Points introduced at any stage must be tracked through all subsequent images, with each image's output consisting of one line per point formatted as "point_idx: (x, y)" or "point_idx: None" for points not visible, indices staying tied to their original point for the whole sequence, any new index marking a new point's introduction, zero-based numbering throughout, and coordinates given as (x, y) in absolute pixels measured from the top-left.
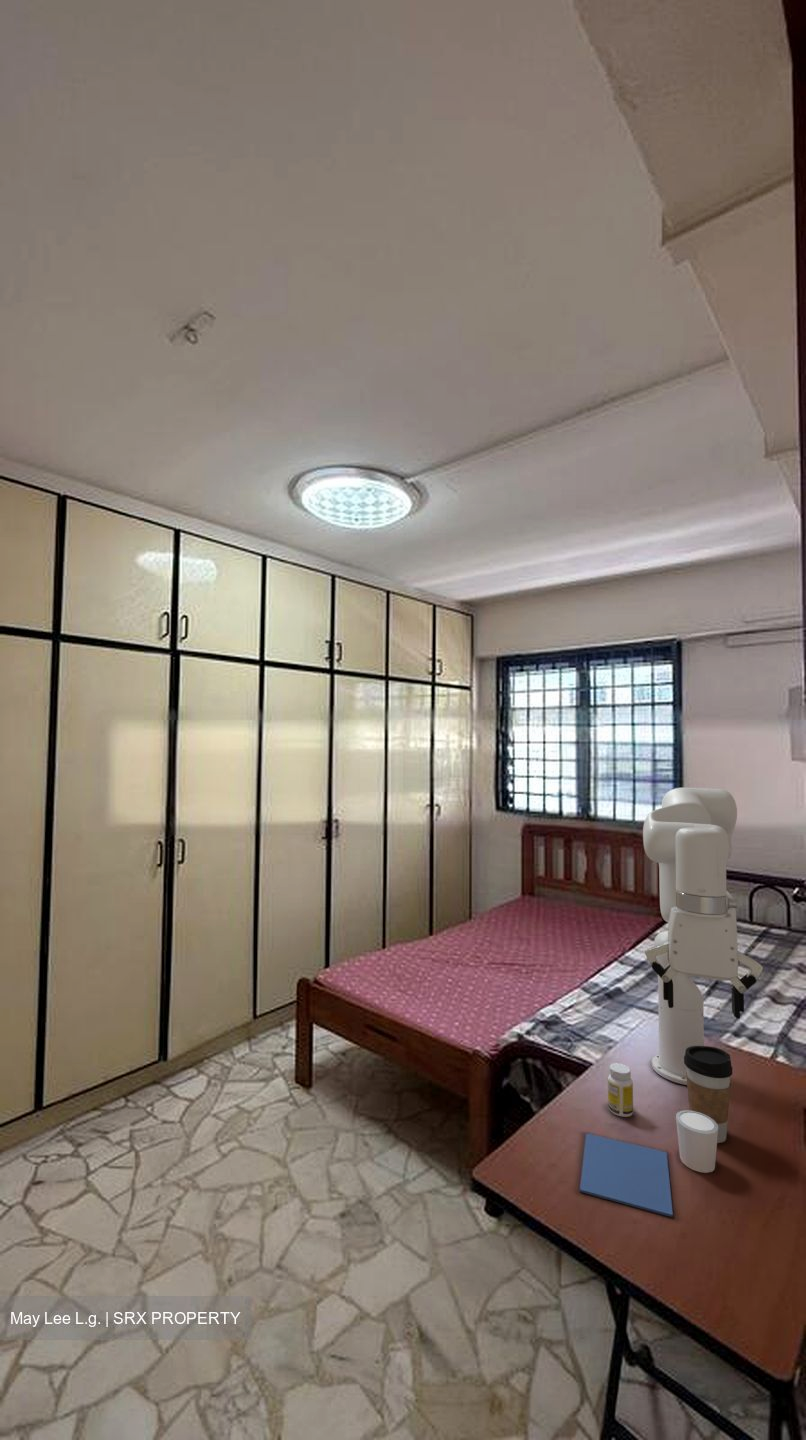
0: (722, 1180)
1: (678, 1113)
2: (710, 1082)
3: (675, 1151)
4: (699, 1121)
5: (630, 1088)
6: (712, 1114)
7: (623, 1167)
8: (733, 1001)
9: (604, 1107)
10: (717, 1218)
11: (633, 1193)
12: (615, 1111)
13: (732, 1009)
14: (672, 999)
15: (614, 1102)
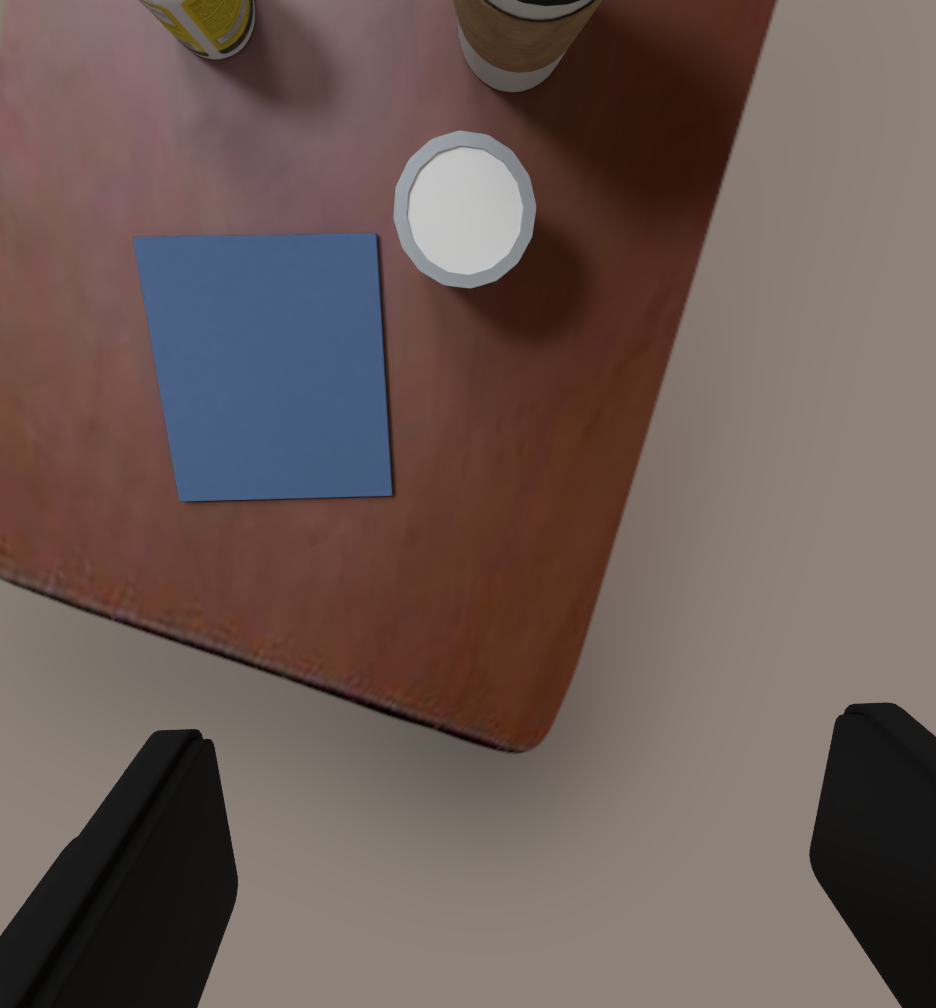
0: (520, 294)
1: (403, 182)
2: (544, 8)
3: None
4: (474, 206)
5: None
6: (531, 62)
7: (265, 366)
8: (925, 939)
9: None
10: (488, 452)
11: (301, 461)
12: (194, 52)
13: (849, 762)
14: (196, 980)
15: (176, 35)
